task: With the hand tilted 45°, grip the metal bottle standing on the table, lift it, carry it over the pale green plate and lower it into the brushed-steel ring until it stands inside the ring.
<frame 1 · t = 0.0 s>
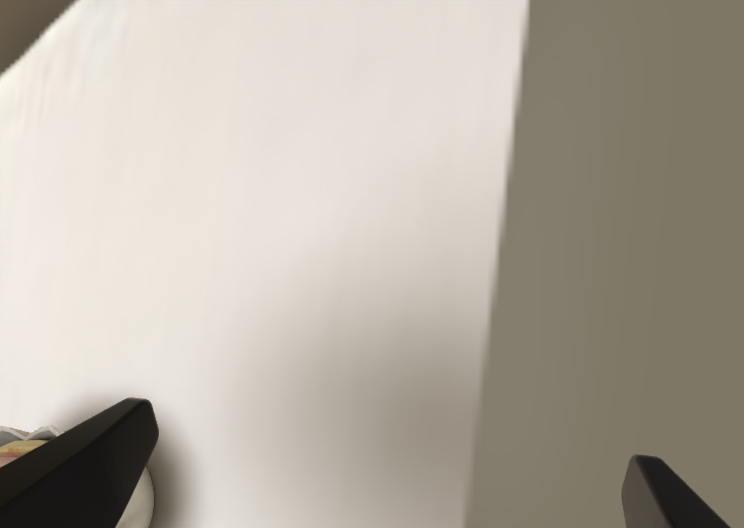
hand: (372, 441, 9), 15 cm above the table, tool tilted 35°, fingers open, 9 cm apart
cupcake: (103, 498, 26), on the table
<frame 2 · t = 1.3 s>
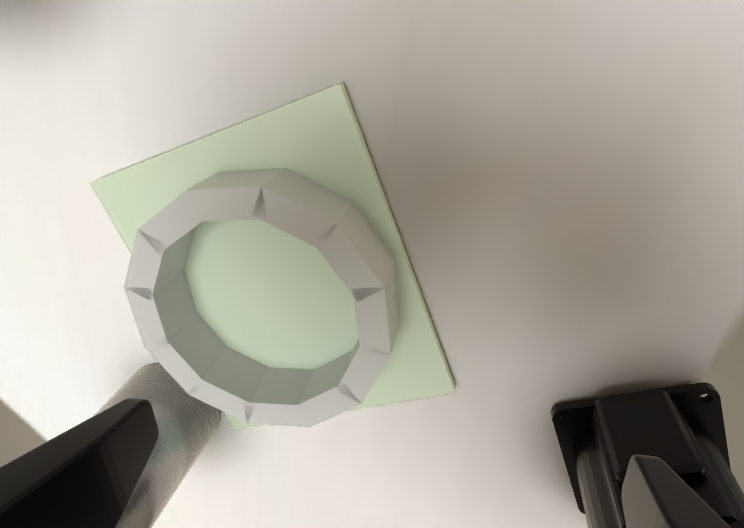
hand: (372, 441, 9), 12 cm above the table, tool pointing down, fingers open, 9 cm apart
ring plate: (280, 285, 23), on the table
metal bottle: (175, 402, 27), on the table
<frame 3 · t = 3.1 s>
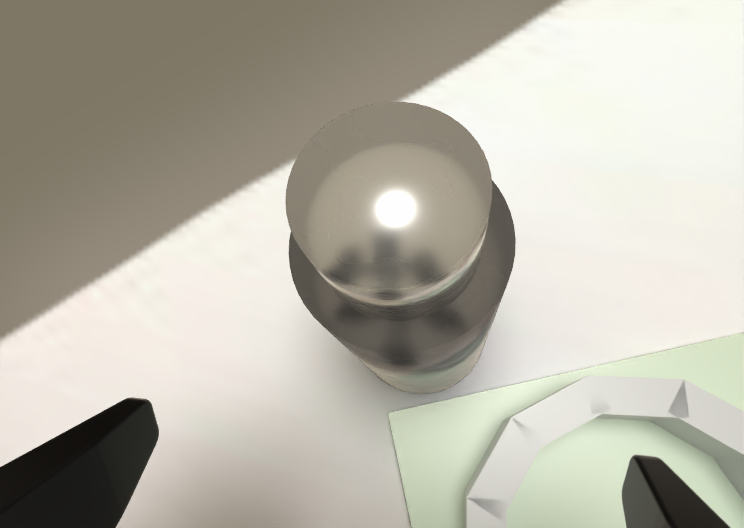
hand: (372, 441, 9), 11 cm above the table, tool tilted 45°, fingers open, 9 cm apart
metal bottle: (420, 329, 21), on the table
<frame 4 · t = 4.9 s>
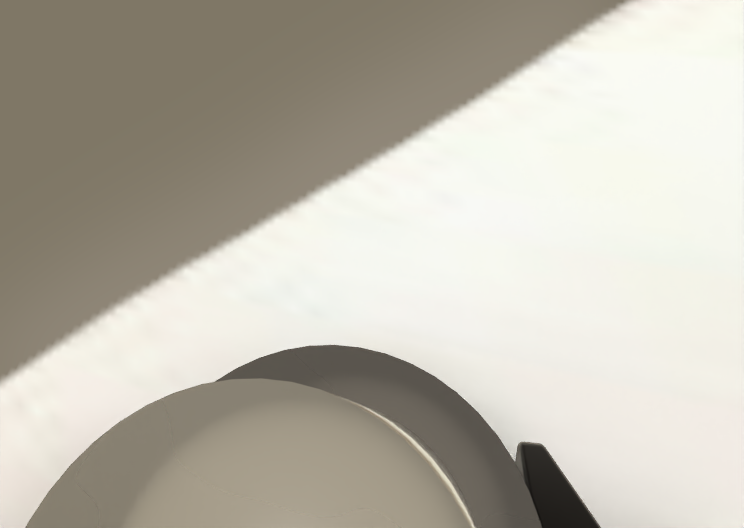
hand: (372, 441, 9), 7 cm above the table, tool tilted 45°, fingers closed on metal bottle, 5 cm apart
metal bottle: (398, 488, 15), on the table, touching gripper
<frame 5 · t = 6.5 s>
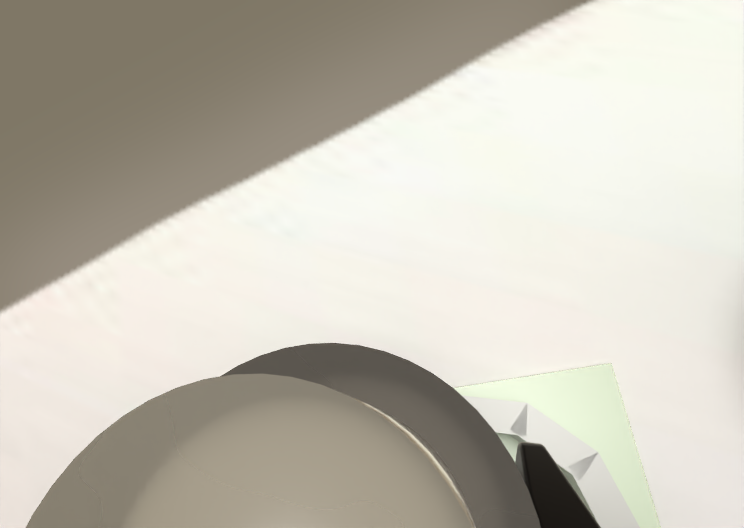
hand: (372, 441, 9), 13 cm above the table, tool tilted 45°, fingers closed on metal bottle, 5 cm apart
metal bottle: (397, 488, 15), point 7 cm above the table, touching gripper
when the fingers open (7 cm above the table, at t = 8.6 s): metal bottle stays where it is, resting on ring plate.
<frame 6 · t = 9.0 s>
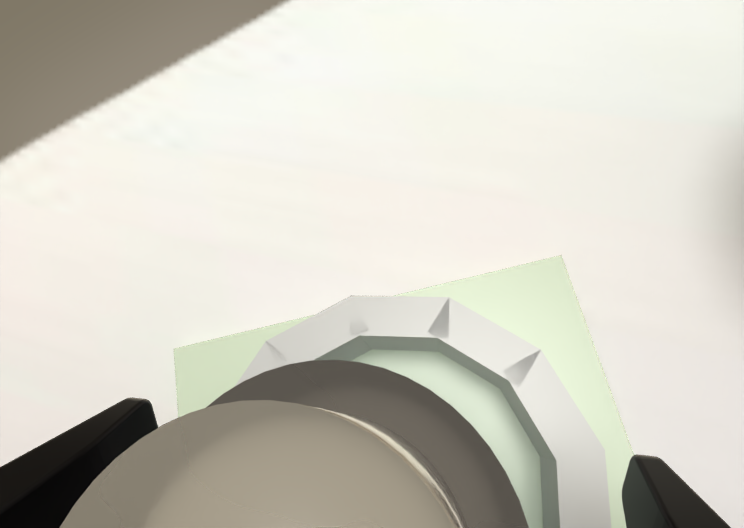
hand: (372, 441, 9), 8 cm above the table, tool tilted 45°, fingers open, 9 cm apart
ring plate: (401, 485, 16), on the table
metal bottle: (397, 490, 16), point 1 cm above the table, touching ring plate
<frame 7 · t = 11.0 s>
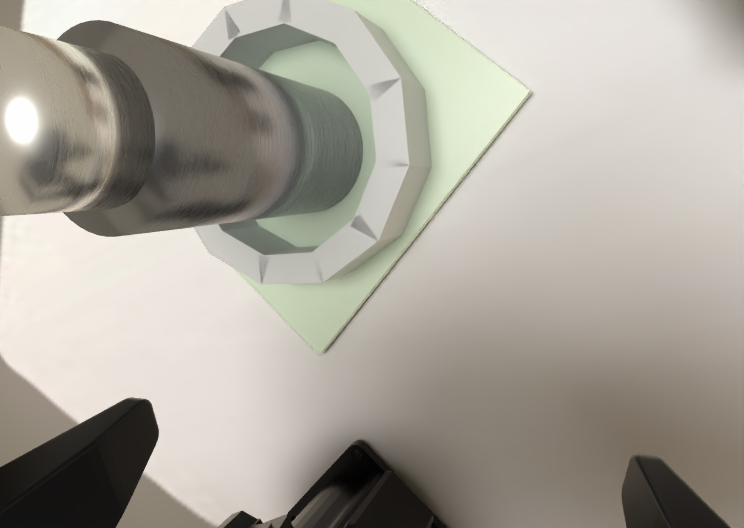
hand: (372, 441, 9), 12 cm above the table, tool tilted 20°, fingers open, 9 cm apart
ring plate: (314, 149, 22), on the table
metal bottle: (307, 151, 22), point 1 cm above the table, touching ring plate
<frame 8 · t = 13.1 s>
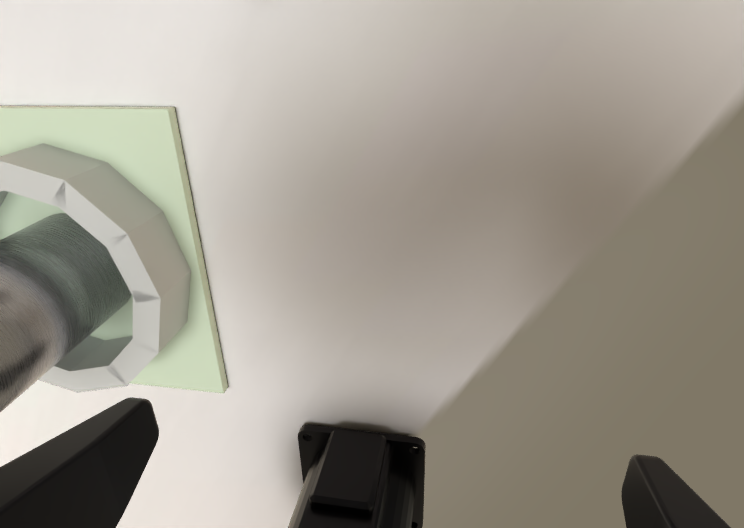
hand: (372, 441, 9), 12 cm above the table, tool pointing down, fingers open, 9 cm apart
ring plate: (87, 258, 24), on the table
metal bottle: (82, 265, 24), point 1 cm above the table, touching ring plate
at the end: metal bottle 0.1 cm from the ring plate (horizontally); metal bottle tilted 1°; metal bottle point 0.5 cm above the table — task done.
